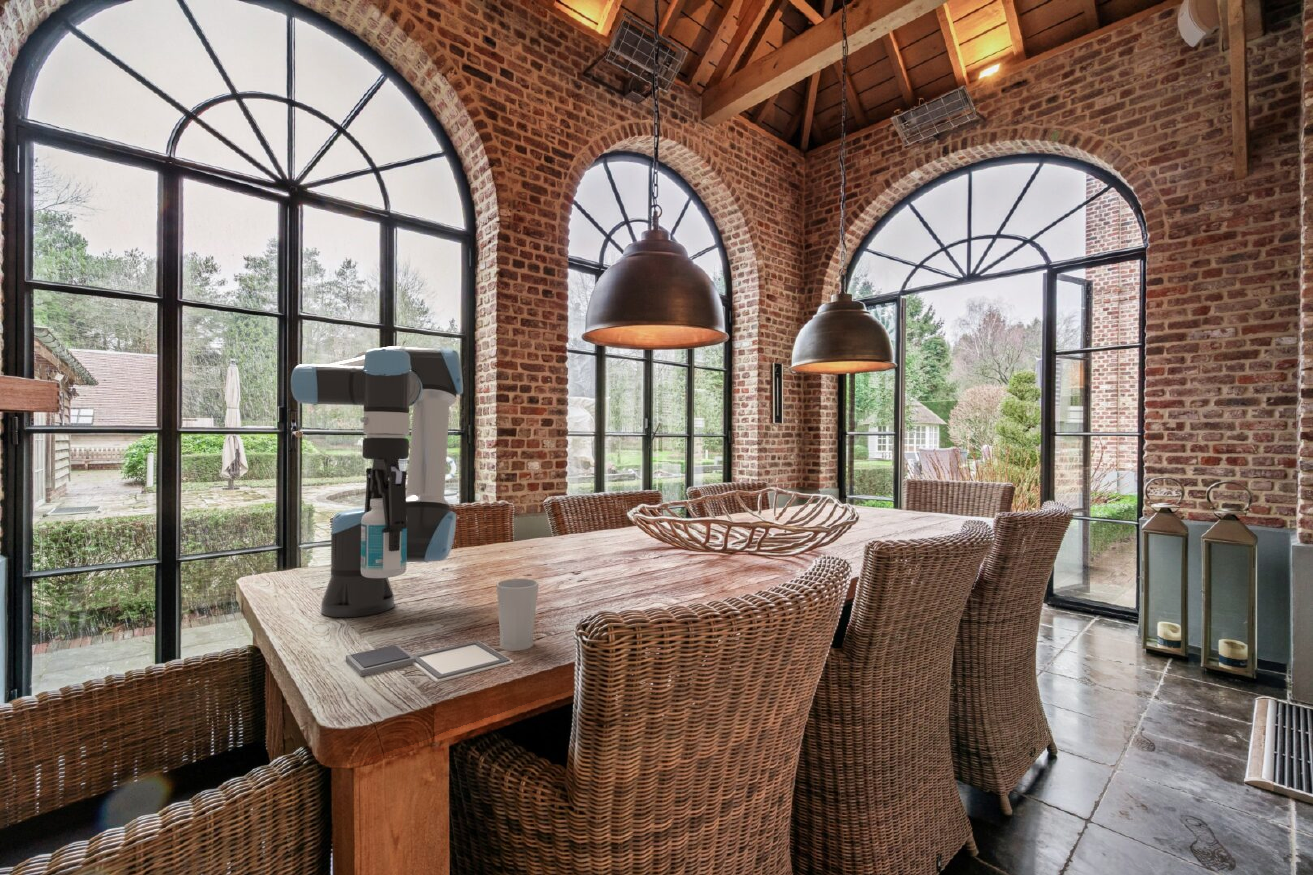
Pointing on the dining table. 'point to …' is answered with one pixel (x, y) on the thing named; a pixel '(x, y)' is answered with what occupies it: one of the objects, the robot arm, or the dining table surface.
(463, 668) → the sheet
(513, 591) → the cup
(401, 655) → the ink pad
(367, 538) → the pill bottle
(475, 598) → the dining table surface
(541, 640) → the dining table surface
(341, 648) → the dining table surface
